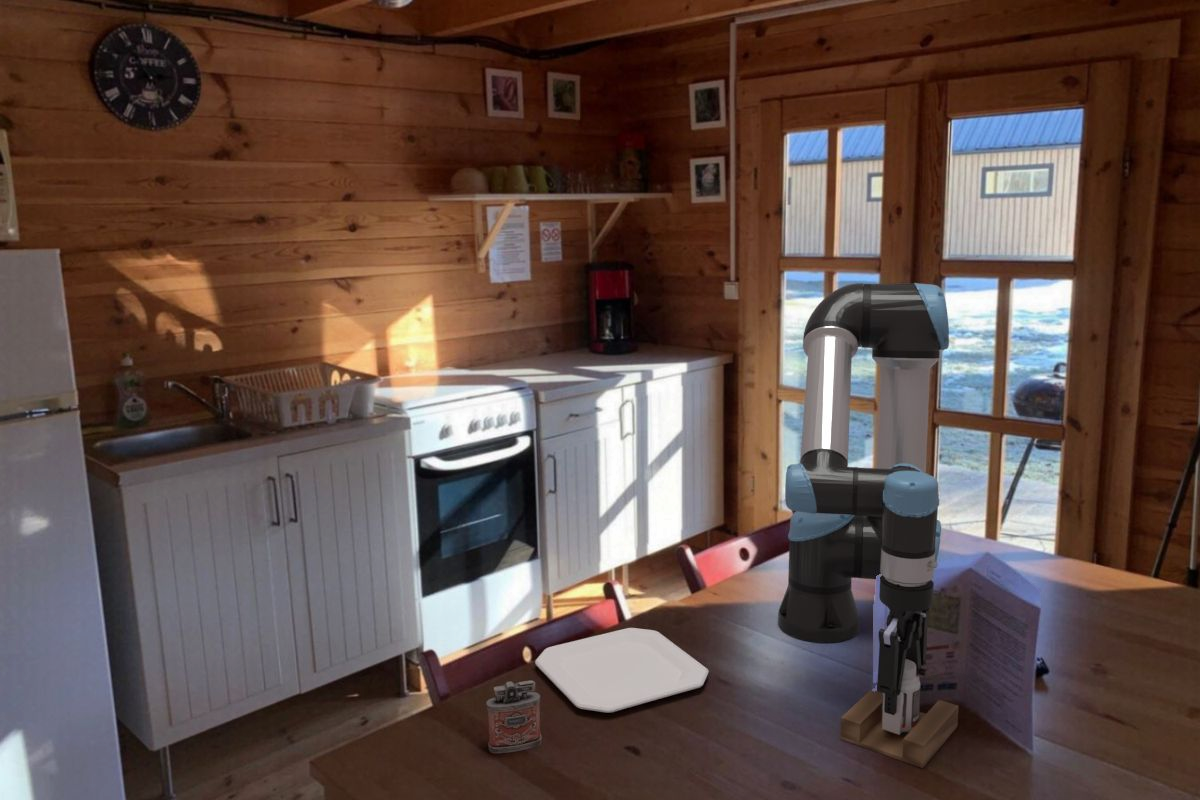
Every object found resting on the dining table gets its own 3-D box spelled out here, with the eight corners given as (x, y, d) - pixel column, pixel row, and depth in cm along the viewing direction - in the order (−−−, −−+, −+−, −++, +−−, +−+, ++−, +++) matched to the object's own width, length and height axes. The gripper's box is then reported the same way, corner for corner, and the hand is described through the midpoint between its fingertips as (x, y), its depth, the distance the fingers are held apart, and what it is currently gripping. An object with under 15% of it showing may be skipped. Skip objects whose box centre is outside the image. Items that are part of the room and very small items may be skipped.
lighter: (490, 755, 142) (487, 693, 140) (486, 743, 145) (483, 682, 143) (544, 746, 144) (541, 684, 142) (538, 734, 147) (536, 674, 145)
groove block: (840, 738, 145) (840, 717, 144) (878, 701, 155) (879, 681, 155) (922, 768, 137) (923, 745, 136) (957, 726, 147) (958, 705, 147)
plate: (526, 663, 171) (525, 651, 171) (647, 633, 182) (647, 622, 182) (588, 728, 149) (587, 715, 149) (721, 690, 160) (721, 677, 160)
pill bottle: (905, 712, 149) (908, 653, 147) (925, 730, 144) (928, 669, 142) (874, 717, 148) (876, 658, 146) (893, 735, 143) (896, 674, 141)
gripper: (907, 604, 132) (899, 758, 136) (954, 564, 146) (946, 705, 150) (855, 591, 136) (850, 740, 141) (906, 553, 150) (899, 690, 155)
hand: (899, 721), depth 146 cm, fingers closed on pill bottle, 5 cm apart
